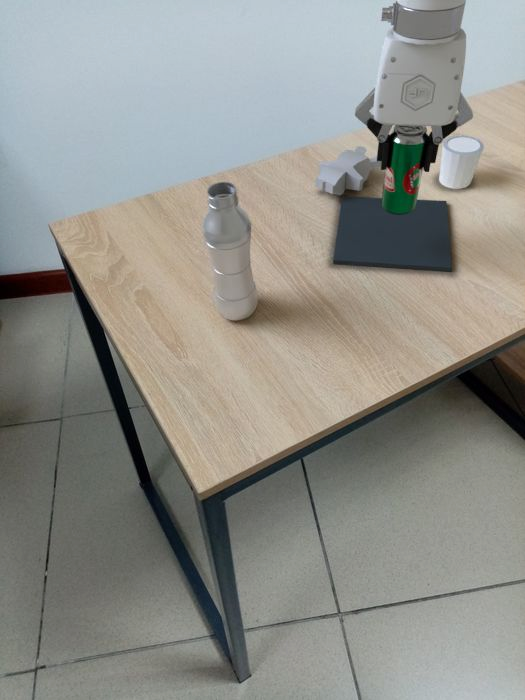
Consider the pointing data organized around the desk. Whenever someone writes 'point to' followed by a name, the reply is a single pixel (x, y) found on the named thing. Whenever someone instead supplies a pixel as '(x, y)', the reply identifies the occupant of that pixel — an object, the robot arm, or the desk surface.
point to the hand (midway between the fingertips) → (404, 164)
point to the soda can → (404, 168)
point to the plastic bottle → (229, 252)
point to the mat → (393, 235)
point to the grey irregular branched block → (345, 171)
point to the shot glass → (459, 161)
